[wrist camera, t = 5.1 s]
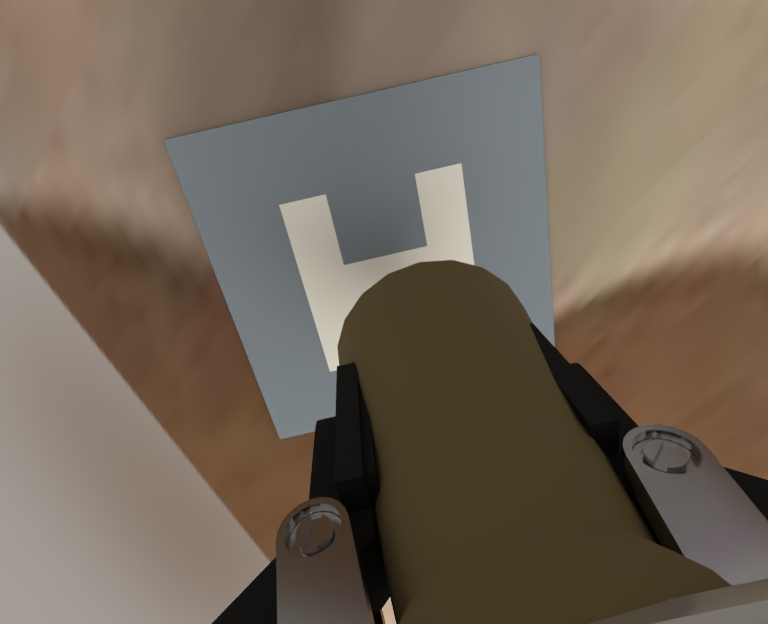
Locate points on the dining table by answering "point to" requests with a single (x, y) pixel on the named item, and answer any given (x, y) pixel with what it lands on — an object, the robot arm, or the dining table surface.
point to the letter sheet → (366, 213)
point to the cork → (492, 465)
